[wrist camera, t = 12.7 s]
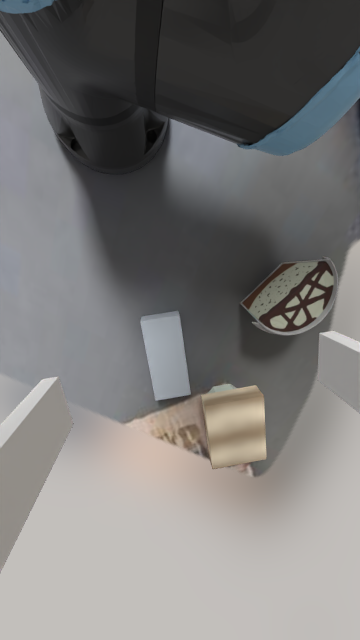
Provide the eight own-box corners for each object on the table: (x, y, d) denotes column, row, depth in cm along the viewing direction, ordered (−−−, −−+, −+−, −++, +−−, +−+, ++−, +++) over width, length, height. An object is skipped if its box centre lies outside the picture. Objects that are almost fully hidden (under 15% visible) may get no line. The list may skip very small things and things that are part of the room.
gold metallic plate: (201, 394, 37) (204, 406, 34) (255, 385, 38) (263, 396, 35) (208, 454, 40) (212, 469, 38) (258, 444, 41) (266, 458, 38)
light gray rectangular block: (141, 316, 38) (140, 321, 35) (177, 310, 38) (179, 315, 35) (155, 390, 42) (155, 400, 39) (188, 385, 42) (190, 394, 39)
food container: (255, 333, 41) (286, 357, 31) (233, 309, 39) (257, 326, 29) (310, 282, 39) (360, 291, 30) (289, 255, 38) (334, 255, 28)
